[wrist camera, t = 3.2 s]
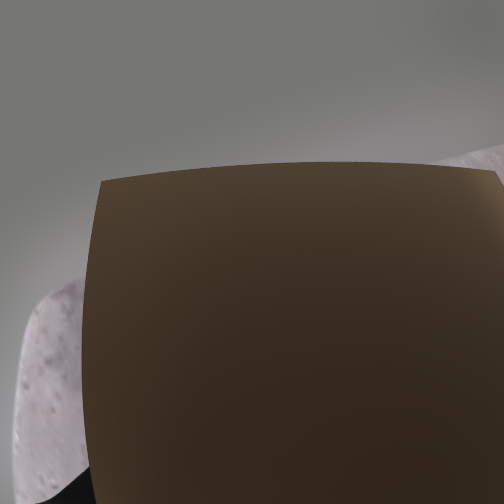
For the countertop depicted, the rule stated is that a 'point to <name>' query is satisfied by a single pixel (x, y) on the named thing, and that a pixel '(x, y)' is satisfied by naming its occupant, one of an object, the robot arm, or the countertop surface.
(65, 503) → the robot arm
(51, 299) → the countertop surface
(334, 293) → the pillar
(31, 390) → the countertop surface
